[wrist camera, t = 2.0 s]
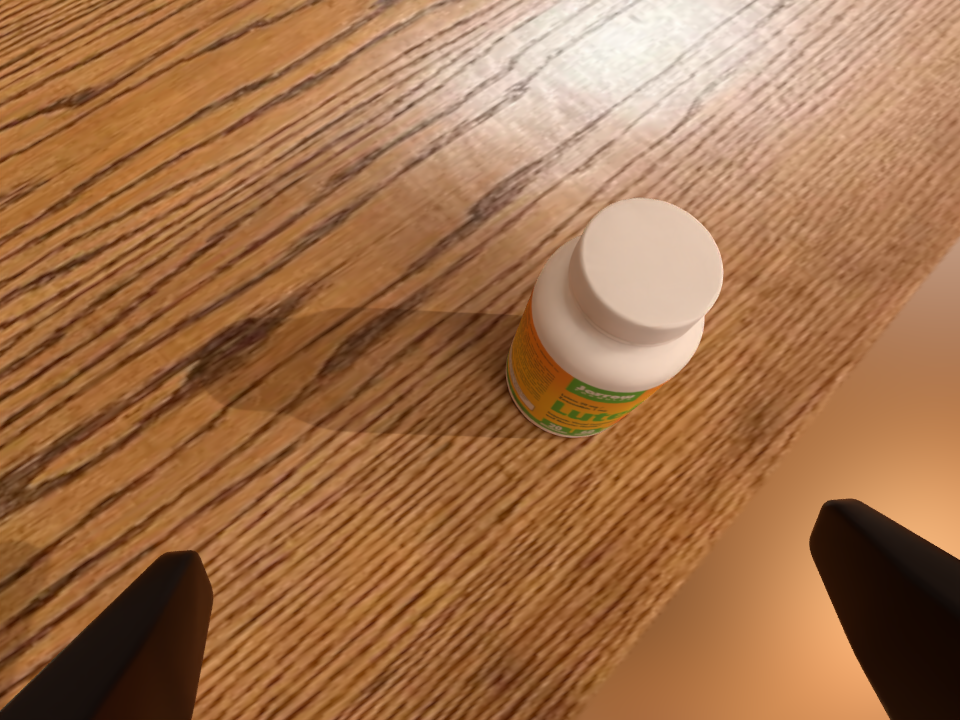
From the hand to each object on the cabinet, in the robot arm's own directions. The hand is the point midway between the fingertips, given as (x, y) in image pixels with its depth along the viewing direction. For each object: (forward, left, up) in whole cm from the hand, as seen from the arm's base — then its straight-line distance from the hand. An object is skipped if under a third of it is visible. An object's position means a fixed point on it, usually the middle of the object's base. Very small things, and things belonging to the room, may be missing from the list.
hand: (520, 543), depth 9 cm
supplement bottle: (+4, -8, -15) cm, 17 cm away
